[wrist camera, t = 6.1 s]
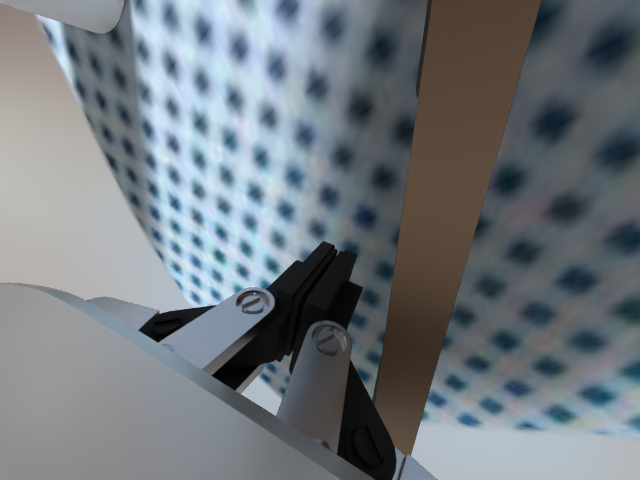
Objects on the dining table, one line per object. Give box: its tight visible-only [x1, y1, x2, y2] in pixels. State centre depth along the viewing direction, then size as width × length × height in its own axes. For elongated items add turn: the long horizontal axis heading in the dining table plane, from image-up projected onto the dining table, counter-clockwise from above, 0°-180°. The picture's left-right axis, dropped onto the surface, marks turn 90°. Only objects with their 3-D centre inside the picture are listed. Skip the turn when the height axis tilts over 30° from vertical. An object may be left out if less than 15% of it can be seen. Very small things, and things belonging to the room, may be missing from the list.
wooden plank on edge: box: [372, 0, 541, 456], centre depth 9 cm, size 19×2×7 cm, turn 2°
